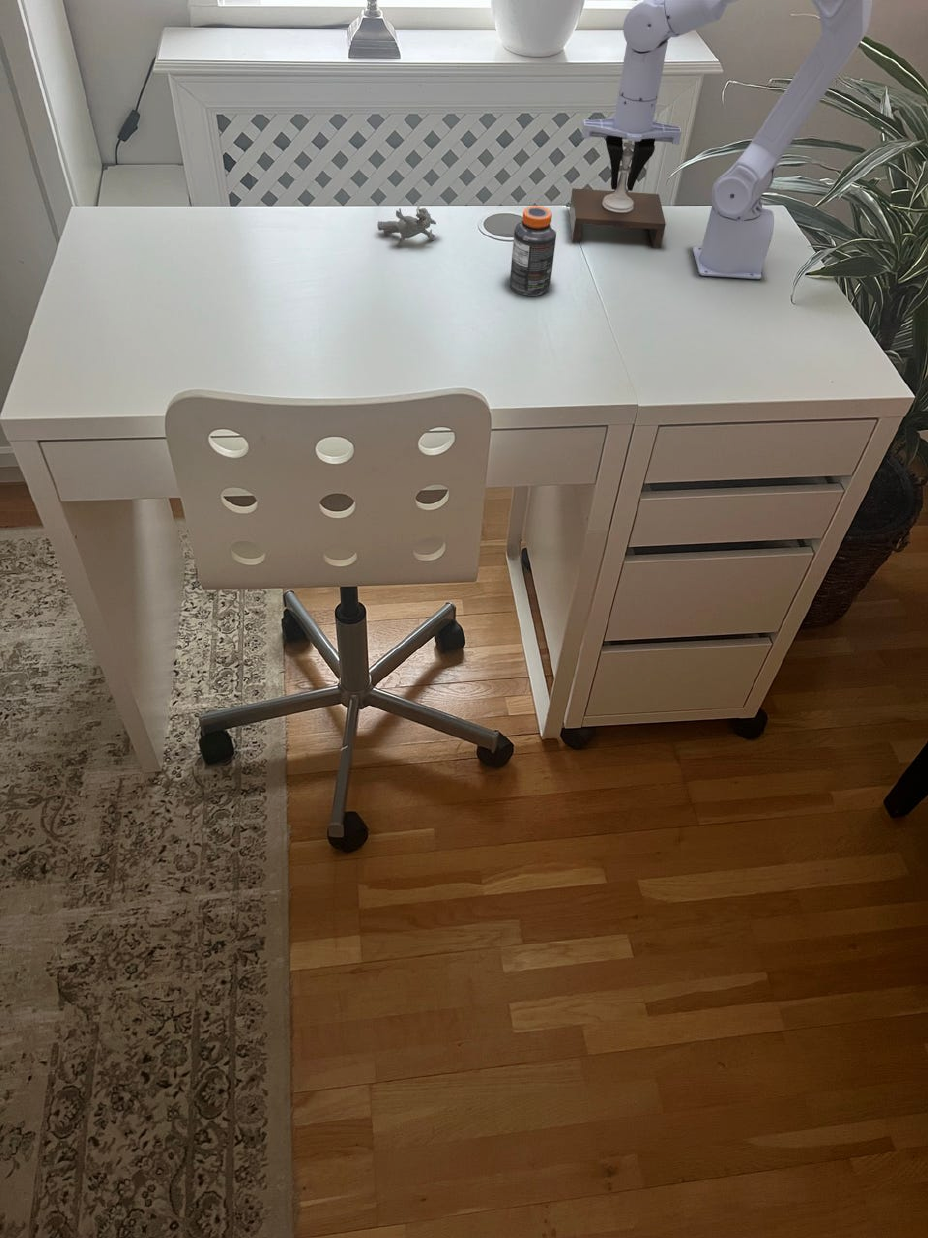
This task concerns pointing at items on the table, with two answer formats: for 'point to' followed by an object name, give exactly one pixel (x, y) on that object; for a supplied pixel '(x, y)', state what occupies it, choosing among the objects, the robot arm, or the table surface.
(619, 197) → the chess piece
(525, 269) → the pill bottle
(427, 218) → the grey creature figurine
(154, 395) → the table surface
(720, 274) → the robot arm
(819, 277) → the table surface
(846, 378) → the table surface
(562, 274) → the table surface
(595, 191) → the walnut shelf
